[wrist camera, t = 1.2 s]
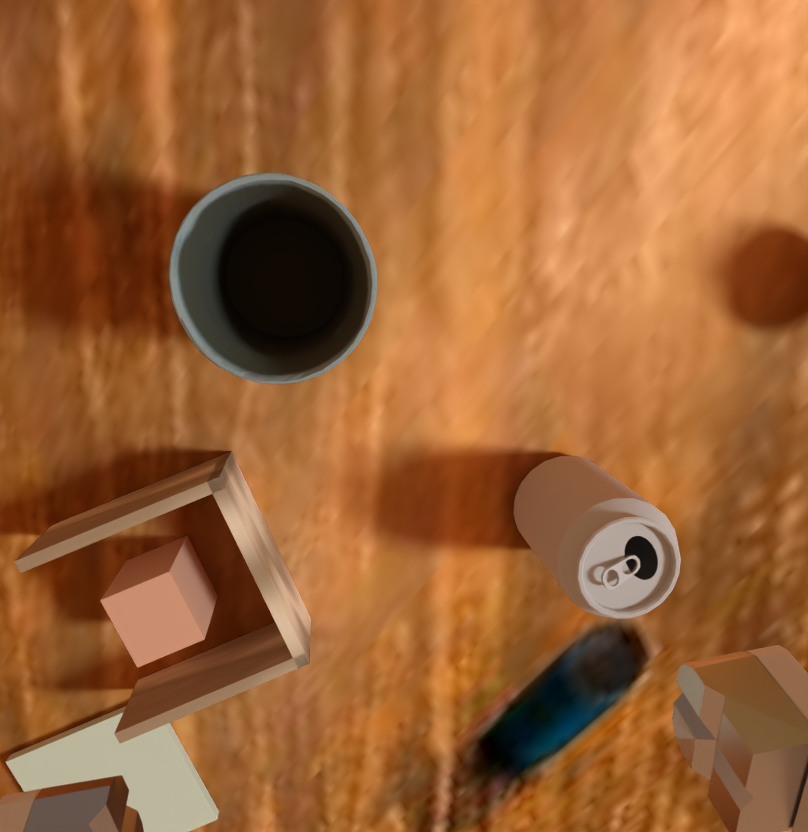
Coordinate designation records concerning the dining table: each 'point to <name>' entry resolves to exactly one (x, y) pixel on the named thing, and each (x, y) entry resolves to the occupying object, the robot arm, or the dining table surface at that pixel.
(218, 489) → the open box
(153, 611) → the block
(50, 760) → the green mat
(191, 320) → the grey cup
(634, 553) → the can
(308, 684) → the dining table surface
